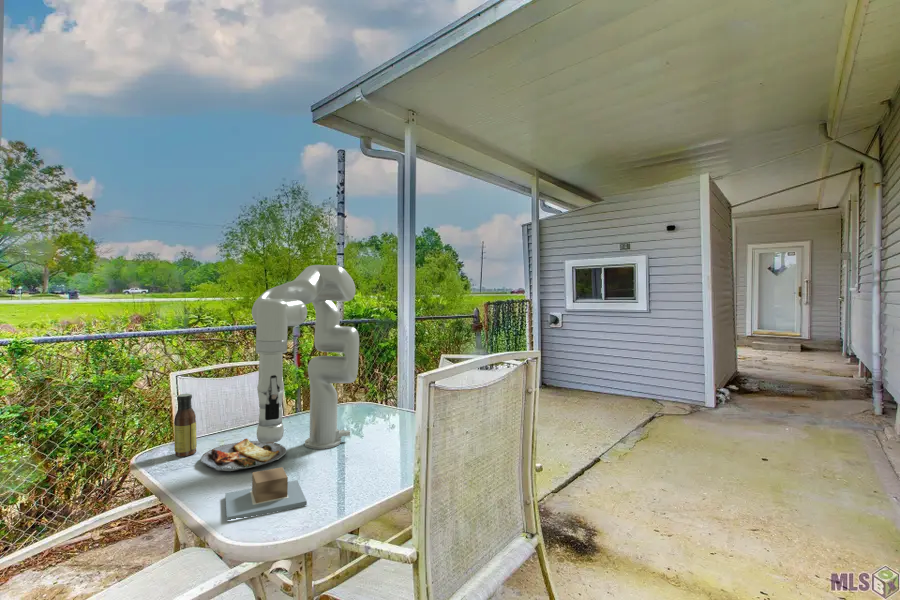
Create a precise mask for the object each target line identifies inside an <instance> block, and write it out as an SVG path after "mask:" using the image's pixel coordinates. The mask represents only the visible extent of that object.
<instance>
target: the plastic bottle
mask: <svg viewBox="0 0 900 600" xmlns="http://www.w3.org/2000/svg"><path fill="white" fill-rule="evenodd" d="M270 383H271V380H270ZM284 387H285V383H284V381H283V380H282V389H281V391H280V392H278V394H279V418H278V419H273V420H266V419H265V404H267V394H266V393H267V391H266V392H264V393H261V392H260V382H259V383H257V396H258V404H259V405H258V406H259V409H258V411H259V414H258V416H259V417H258V425H257V428H256V439H257V441H259V442H260V443H277V442H280V441H281V440H282V438H283V437H284V432H285V431H284V424H283V416H282V415H283V413H282V408H283V407H282V404H283V395H284ZM278 389H279V387H278ZM269 391H271V388H269V387H268V392H269ZM278 391H279V390H278ZM270 395H271V394H269V396H270Z"/></svg>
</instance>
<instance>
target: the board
mask: <svg viewBox="0 0 900 600" xmlns="http://www.w3.org/2000/svg"><path fill="white" fill-rule="evenodd" d="M224 497H225V499H224V500H225V513H226V514H225V516H227V518H226V521H227V520H231V519H236V518H244V517H251V516H256V515H260V516H263V515H262V514H265V515H268V514H267V513H270V514H273V512H275V513H279V512H283V510H284V511H288V510H287V509H289V510H292V509H291V508H294V509H296V508H295V507H299V508H301V507H300V506H303V507H305V506H304V505H307V506H308V503H307V502H308V500H307V499H306V496H305V494H304V492H303V490H302V487H301V485H300V483H299V481H298V479H296V480H290V481H289V480H288V491H287V497H283V498H278V499H273V500H269V501H264V502H259V503H256V502H255V499H254V496H253V493H252V487H251V488H246V489H245V488H244V489H239V490H236V491H235V490H234V491H228V492H225V495H224ZM277 511H278V512H277ZM256 517H257V516H256ZM251 518H252V517H251Z"/></svg>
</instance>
